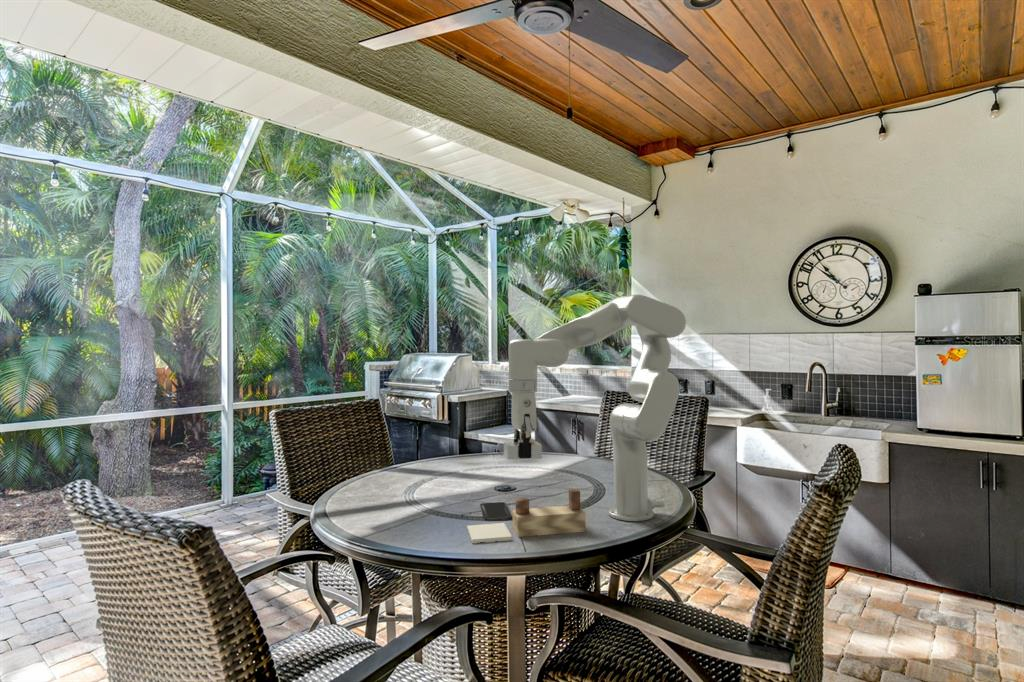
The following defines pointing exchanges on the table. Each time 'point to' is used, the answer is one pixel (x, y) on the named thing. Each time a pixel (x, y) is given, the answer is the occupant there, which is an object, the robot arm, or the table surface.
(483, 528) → the felt mat
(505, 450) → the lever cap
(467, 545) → the table surface
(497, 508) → the phone
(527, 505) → the body
